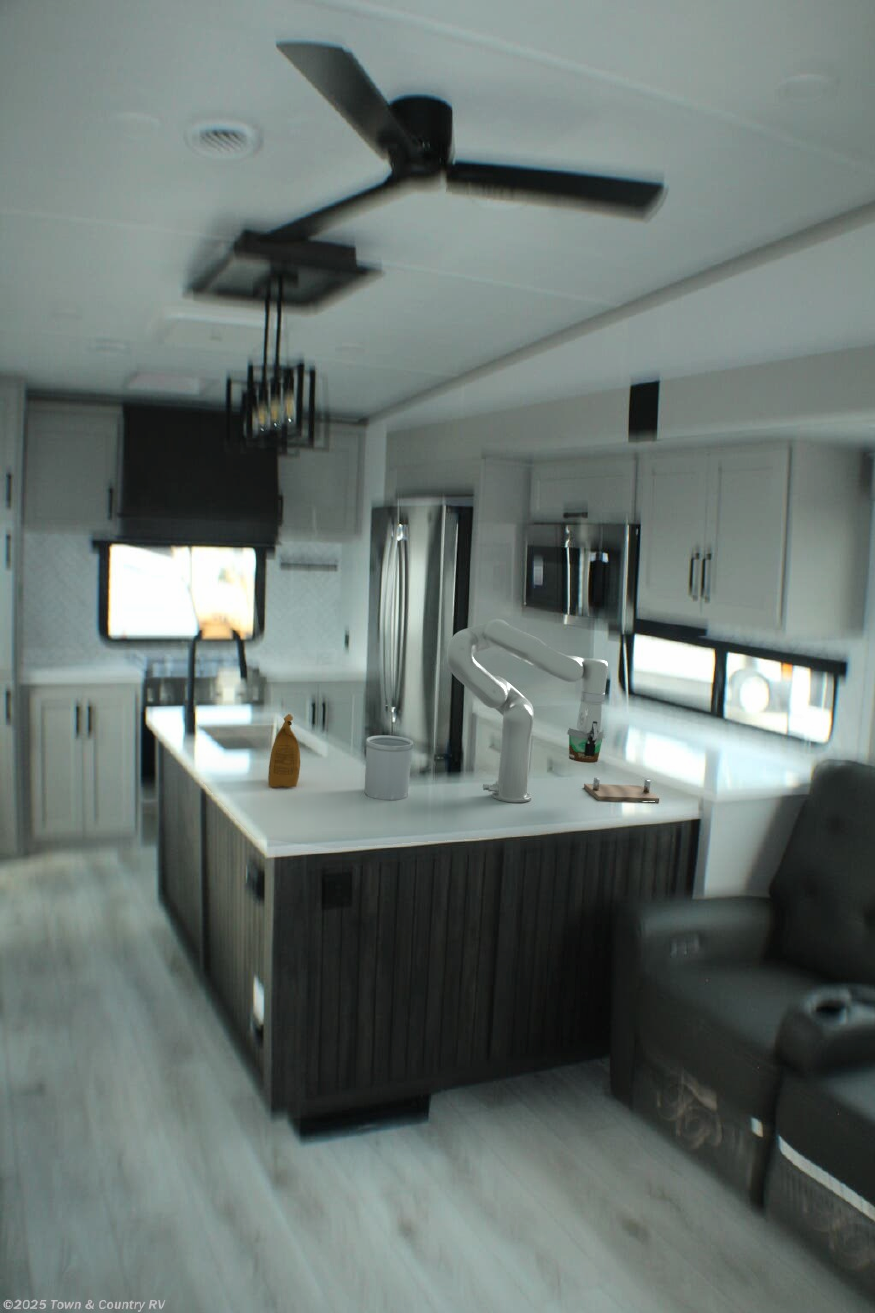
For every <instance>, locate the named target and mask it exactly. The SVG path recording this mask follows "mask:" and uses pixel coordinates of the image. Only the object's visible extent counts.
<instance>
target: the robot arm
mask: <svg viewBox="0 0 875 1313" xmlns="http://www.w3.org/2000/svg"><path fill="white" fill-rule="evenodd" d="M490 648H495V649H497V650H500V651H501V652H503V653H506V654H508V655H510V656H513V657H514V658H517V659H518V660H521V661H523V662H524V663H526V664H528V665H530V666H532V667H535V668H537V669H538V670H541V671H543V672H545V673H547V674H548V675H549V674H550V675H552V676H554V678H558V679H560V680H561V681H564V682H567V683H576V682H578V681H580V680H581V690H580V699H579V702H580V705H579V708H578V713H577V714H578V715H577V722H576V730H578V731H583V733H584V734H587V735H588V737H587V743H585V752H584V755H585V756H594V755H595V745H596V740H597V737H598V734H599V732H601V723H602V705H604V703H605V698H606V697H605V696H606V688H607V687H606V686H607V679H608V678H607V676H608V670H609V669H608V668H609V667H608V666H609V665H608V662H607V661H606V660H604V659H599V658H585V657H581V656H576V655H566V654H564V653H562V652H561V651H560V652H559V651H558V650H555V649H554V648H552V647H550V646H549V645H547V644H546V643H545V642H543V640H541V639H540V638H539V637H537V636H534V635H532V634H531V633H528V632H525V631H523V630H520V629H519V628H516V627H514V626H513V625H510V624H508V622H507V621H505V620H504V619H500V618H494V619H492V620H489V621H487V622H484V623H481V624H476V625H474V626H470V627H467V628H464V629H461V630H459V631H458V632H456V633H455V634H453V636H452V637H451V638H450V640H449V643H448V645H447V650H446V662H447V667H448V668H449V670H450V672H451V673H452V675H453V676H454V677H455V678H456V679H457V680H458V681H459V682H460V683H461V684H462V685H464V687H466V689H467V690H469V691H470V692H471V693H472V694H473V695H474V696H475V697H476V698H477V699H478V700H479V701H480V702H481V703H482V704H483V705H484V706H486V707H488V708H490V709H494V710H496V711H497V712H498V713H499V714H500V715H502V727H501V728H502V729H501V730H502V731H501V744H500V754H499V755H500V756H499V767H498V777H497V778H498V780H497V781H495V783H492V784H489V783H483V784H482V789H483V791H488V792H492V794H491V796H492V797H493V799H495V800H499V801H503V802H507V803H517V804H518V803H526V802H530V801H531V800H532V795H531V794H530V793H528V783H529V782H528V781H529V780H528V779H529V772H530V770H529V769H530V758H531V750H532V749H531V748H532V737H533V736H532V735H533V728H534V726H533V725H534V719H535V717H534V716H535V714H534V713H535V710H534V707H533V705H532V703H531V701H530V700H528V698H527V697H525V696H524V695H523V694H522V693H521V692H520V691H518V690H517V689H516V688H515V687H514V686H513V685H512V684H510V682H508V681H507V680H506V679H505V678H503V677H501V676H498V675H493V674H491V673H490V672H489V671H488V670H487V669H486V668H485V667H484V666H483V665H482V664H480V663H479V662H478V661H477V660H476V659H475V658H474V654H475V653H477V652H482V651H485V650H487V649H490ZM589 732H593V734H589ZM590 736H592V737H590ZM589 737H590V739H589Z"/></svg>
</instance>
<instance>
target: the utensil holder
mask: <svg viewBox="0 0 875 1313" xmlns="http://www.w3.org/2000/svg"><path fill="white" fill-rule="evenodd" d="M365 744H366V751H365V752H366V753H365V768H364V769H365V770H364V772H365V774H364V794H365V795H366V796H368V797H369V798H372V799H376V800H383V801H398V800H403V799H406V798H407V797H408V795H409V786H410V778H411V777H410V776H411V765H412V764H411V763H412V753H413V748H414V741H413V740H412V739H410V738H407V737H403V736H399V735H398V736H397V735H389V734H387V735H386V734H385V735H371V736H369V737H367V738H366V740H365Z"/></svg>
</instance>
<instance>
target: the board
mask: <svg viewBox="0 0 875 1313" xmlns="http://www.w3.org/2000/svg"><path fill="white" fill-rule="evenodd" d="M600 781H601V778H600V777H593V783H584V784H583V789H584V790H585V791H587V792H588V793H589V794H590V795H592V797H594V798H595V800H597V801H599V802H623V801H655V802H659V803H660V797H658V796H657V795H655V794H654V793H653V792H651V791H650V790H651V789H650V788H651V782H652V781H651V780H650V779H644V781H643V783H644V784H643V785H631V784H629V785H628V784H604V783H603V784H602V783H601V782H600Z"/></svg>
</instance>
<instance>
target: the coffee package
mask: <svg viewBox="0 0 875 1313" xmlns="http://www.w3.org/2000/svg"><path fill="white" fill-rule="evenodd" d="M293 719H294V717H293V716H292V715H291V713H290V714H289V713H288V714H287V715H286V716H285V717H283V720H284V722H283V724H282V725H281V728H280V730H278V732H277V734H276V736H275V739H274V742H273V746H272V747H271V752H270V758H269V763H268V764H269V765H268V775H267V776H268V777H267V781H268V786H269V787H270V788H272V789H273V788H293V787H297V785H298V781H299V778H300V771H301V752H300V745H299V742H298V739H297V737H296V735H295V734H294V732H293V731H292V729H291V726H292V723H293V722H292V721H293Z"/></svg>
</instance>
